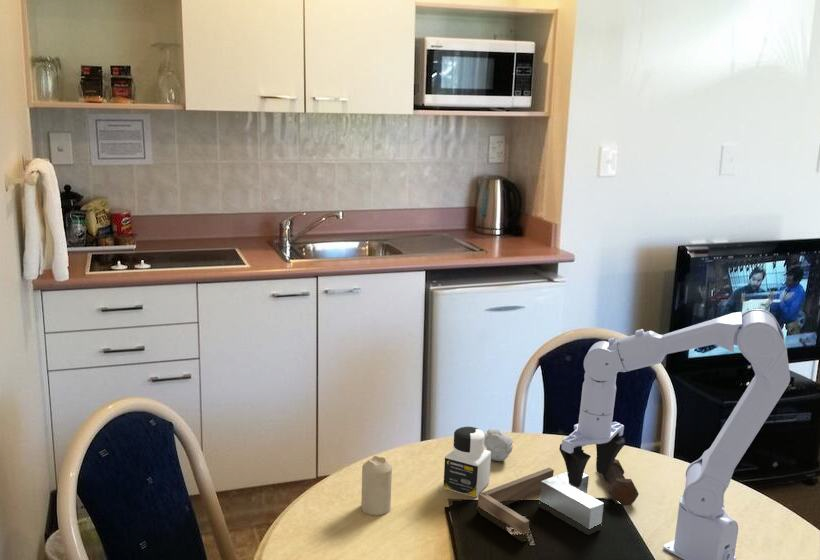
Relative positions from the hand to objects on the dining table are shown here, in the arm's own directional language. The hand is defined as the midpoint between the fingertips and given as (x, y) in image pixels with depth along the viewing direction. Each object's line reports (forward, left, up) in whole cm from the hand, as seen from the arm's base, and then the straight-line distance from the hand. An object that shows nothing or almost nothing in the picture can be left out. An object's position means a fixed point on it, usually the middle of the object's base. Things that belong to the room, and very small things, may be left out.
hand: (588, 479), depth 139 cm
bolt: (+7, -17, -10) cm, 21 cm away
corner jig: (+8, +4, -10) cm, 13 cm away
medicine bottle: (+23, +8, -10) cm, 27 cm away
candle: (+26, +28, -10) cm, 40 cm away
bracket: (+3, -3, -10) cm, 11 cm away
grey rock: (+28, -5, -10) cm, 30 cm away
